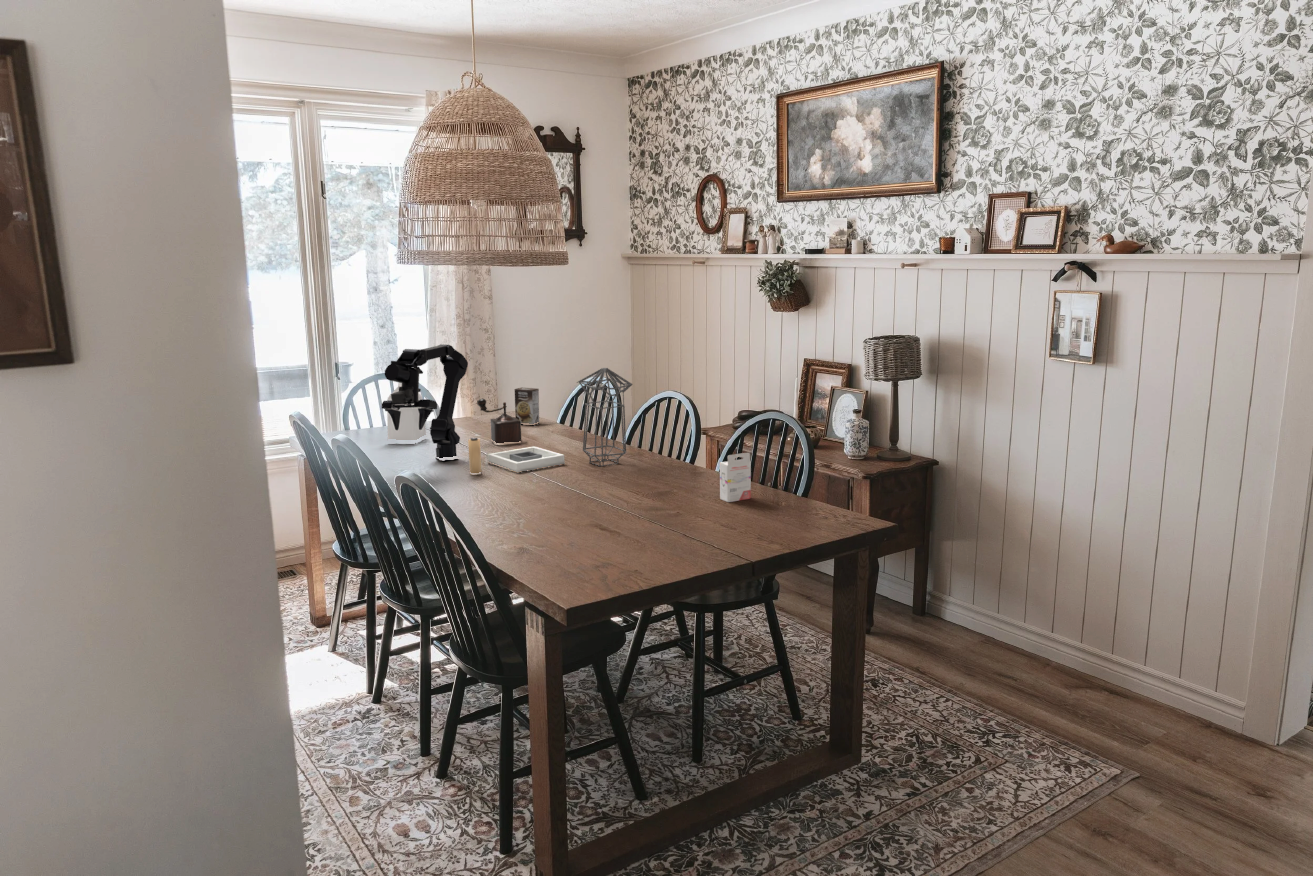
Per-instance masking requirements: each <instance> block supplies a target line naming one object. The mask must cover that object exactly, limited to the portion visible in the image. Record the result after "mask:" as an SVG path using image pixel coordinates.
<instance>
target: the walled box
mask: <svg viewBox="0 0 1313 876" xmlns="http://www.w3.org/2000/svg"><path fill="white" fill-rule="evenodd" d="M488 461H489V462H491V463H494V464H497V465H500V466H503V467H506V468H509V469H510V470H513V471H516V472H520V471H527V470H532V471H535V470H534V469H537V468H542V467H548V466H553V467H555V466H554V465H559V466H561V465H560V464H564V465H565V463H566V462H565V454H562V453H558V452H555V451H552V450H549V449H545V448H541V447H538V446H529V447H523V448H516V449H510V450H504V451H499V452H492V453H487V462H488ZM548 468H549V467H548ZM537 470H538V469H537ZM527 472H528V471H527Z"/></svg>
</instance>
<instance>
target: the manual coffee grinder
mask: <svg viewBox="0 0 1313 876" xmlns="http://www.w3.org/2000/svg"><path fill="white" fill-rule="evenodd" d="M476 404H477V406H478V407H479V408H480V410H479V411H481V412H485V413H493V412H498V411H501V410H503V413H501V415H500V416H498V417H496V418H490V419H489V420H490V435H491V436H490V440H491V439H492V440H493V441H495V442H496V443H504V442H519V441H521V442H522V425H521V422H520V421H519V420H518V419H517V418H516V416H511V415H509V414H507V402H505V401H504V402H503V403H502V405H503V406H501V407H498V408H494V409H489V410H488V408H487V400H486V399H485V398H479V399H477V403H476Z"/></svg>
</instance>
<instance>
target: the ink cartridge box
mask: <svg viewBox="0 0 1313 876" xmlns="http://www.w3.org/2000/svg"><path fill="white" fill-rule="evenodd" d="M738 457H739V459H738ZM740 458H741V459H740ZM751 465H752V464H751V452H744V453H743V452H742V453H736V454H729V455H727V461H721V462H719V499H720V500H722V501H724V502H726V503H732V502H737V501H744V500H745V501H746V500H750V499H751V498H752V487H751V486H752V484H751V483H752V482H751V478H752V472H751V471H752V468H751V467H752V466H751Z"/></svg>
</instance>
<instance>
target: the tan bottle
mask: <svg viewBox="0 0 1313 876" xmlns="http://www.w3.org/2000/svg"><path fill="white" fill-rule="evenodd" d="M467 445H468V460H469V461H468V462H469V473H470V472H471V473H479V472H483V471H482V454H481V453H482V452H481V451H482V450H481V439H480V438H478V437H470V439H468V441H467Z"/></svg>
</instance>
